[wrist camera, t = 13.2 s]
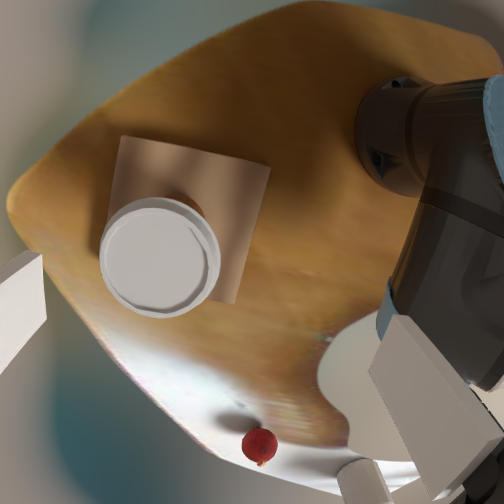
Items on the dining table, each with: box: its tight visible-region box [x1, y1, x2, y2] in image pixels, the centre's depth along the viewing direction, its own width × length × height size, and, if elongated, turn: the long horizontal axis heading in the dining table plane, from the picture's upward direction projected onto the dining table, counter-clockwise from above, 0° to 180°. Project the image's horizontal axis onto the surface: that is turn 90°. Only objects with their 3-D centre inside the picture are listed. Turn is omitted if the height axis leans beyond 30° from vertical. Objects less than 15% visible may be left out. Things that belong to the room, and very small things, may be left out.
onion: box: [242, 428, 278, 467], centre depth 46 cm, size 6×6×8 cm
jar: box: [337, 458, 394, 504], centre depth 50 cm, size 10×10×18 cm
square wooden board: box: [101, 135, 271, 304], centre depth 35 cm, size 16×16×3 cm
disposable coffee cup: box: [99, 195, 221, 318], centre depth 28 cm, size 10×10×12 cm
